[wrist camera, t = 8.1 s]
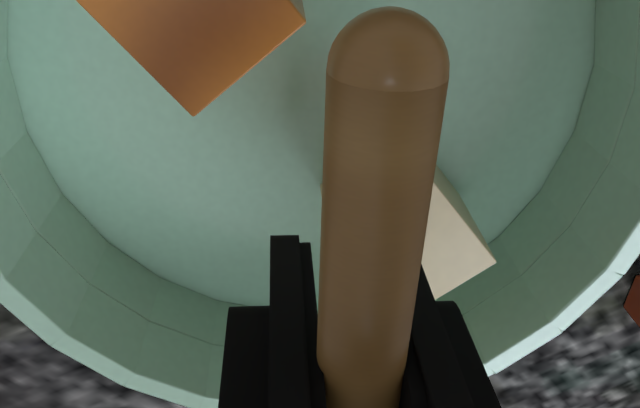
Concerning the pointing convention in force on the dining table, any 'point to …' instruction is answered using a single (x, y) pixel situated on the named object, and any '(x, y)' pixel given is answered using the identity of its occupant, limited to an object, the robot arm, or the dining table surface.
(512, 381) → the dining table surface
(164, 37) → the amber block
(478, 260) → the cream block
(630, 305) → the red blocks
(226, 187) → the bowl
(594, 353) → the dining table surface
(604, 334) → the dining table surface
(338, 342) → the tan wooden rod
